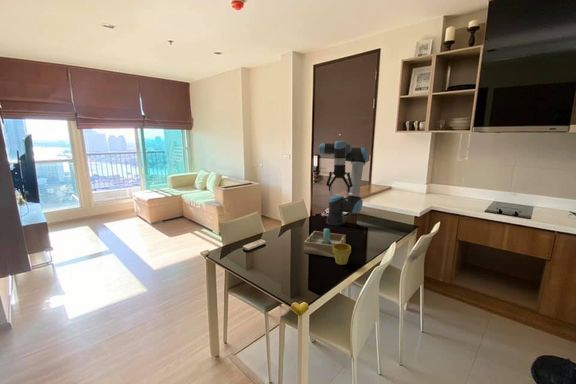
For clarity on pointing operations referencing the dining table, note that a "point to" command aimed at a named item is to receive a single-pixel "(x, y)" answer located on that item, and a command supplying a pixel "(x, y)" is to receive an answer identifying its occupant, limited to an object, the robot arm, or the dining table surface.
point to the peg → (326, 236)
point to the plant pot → (341, 253)
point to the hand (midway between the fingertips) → (339, 196)
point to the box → (316, 243)
